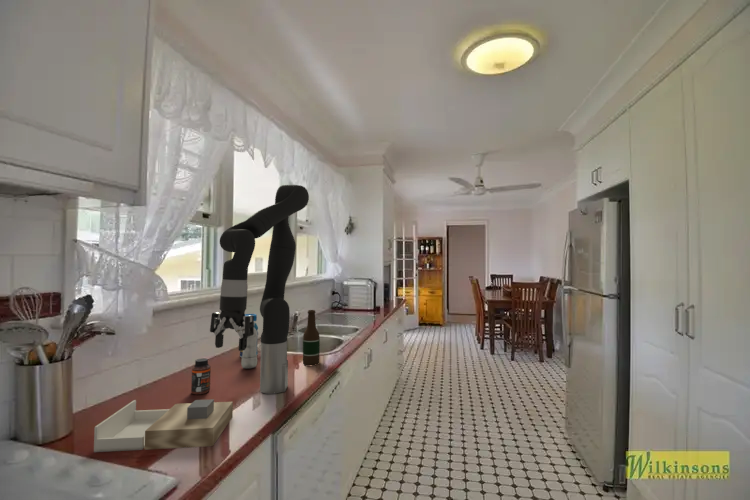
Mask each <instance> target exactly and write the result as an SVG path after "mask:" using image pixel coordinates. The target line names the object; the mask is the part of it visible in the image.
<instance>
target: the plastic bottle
mask: <svg viewBox="0 0 750 500" xmlns="http://www.w3.org/2000/svg"><path fill="white" fill-rule="evenodd" d="M254 325H255V324H254ZM257 331H258V330H257ZM257 331H256V329H255V328H254V334H253V335H252V336H249V337H248V338H247V347H246V349H245V350H243V354H242V358H241V363H240V366H241V367H242V369H246V370H249V369H254V368H256V367H257V365H258V355H257V356H256V341H257Z"/></svg>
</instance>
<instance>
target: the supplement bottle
mask: <svg viewBox="0 0 750 500" xmlns="http://www.w3.org/2000/svg"><path fill="white" fill-rule="evenodd" d="M194 363H195V364H194V365H193V366H192V369H191V387H190V388H191V389H190V391H191V392H190V393H191V394H192V395H197V396H198V395H199V396H200V395H203V394H204V395H205V394H207V393H208V392H210V390H211V365H210V364H209V360H208V358H206V357H205V358H198V359H195V361H194Z"/></svg>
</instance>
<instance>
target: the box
mask: <svg viewBox="0 0 750 500" xmlns="http://www.w3.org/2000/svg"><path fill="white" fill-rule="evenodd" d="M169 409H170V408H166V409H146V410H143V409H140V410H137V399H133V400H132V401H131V402H129V403H127V404H126V405H124V406H123V407H122V408H120V409H119V410H117V411H115V413H112V414H111V415H110V416H109V417H107V418H106V419H104V420H102V421H101V422H100V423H98V424H97V425H95V426H94V435H93V437H94V438H93V440H94V441H93V453H104V452H106V453H108V452H121V451H124V452H125V451H142V450H145V431H146V430H147V429H148V428H149V427H150V426H151V425H152V424H154V423H155V422H156V421H157V420H158V419H159V418H160V417H161V416H163V415H164V414H165V413H166V412H167V411H168V410H169Z"/></svg>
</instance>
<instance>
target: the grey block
mask: <svg viewBox="0 0 750 500" xmlns="http://www.w3.org/2000/svg"><path fill="white" fill-rule="evenodd" d="M214 402H215V399H214V398H212V399H195V400H194V401H192V402H191V403H192V404H191V405H190V406H189V407H188V408H187V419H205V418H208V416H209V415H210V414H211V413H212V412H213V410H214Z"/></svg>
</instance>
